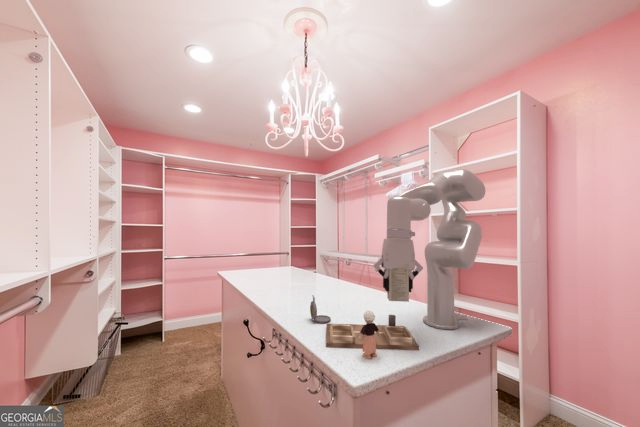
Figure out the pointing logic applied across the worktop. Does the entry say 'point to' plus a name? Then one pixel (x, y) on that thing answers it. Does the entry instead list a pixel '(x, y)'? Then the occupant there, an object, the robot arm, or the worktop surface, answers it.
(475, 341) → the worktop surface
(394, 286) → the skincare box
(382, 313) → the worktop surface
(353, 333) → the board
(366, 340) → the grandmother figurine
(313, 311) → the pocket watch
